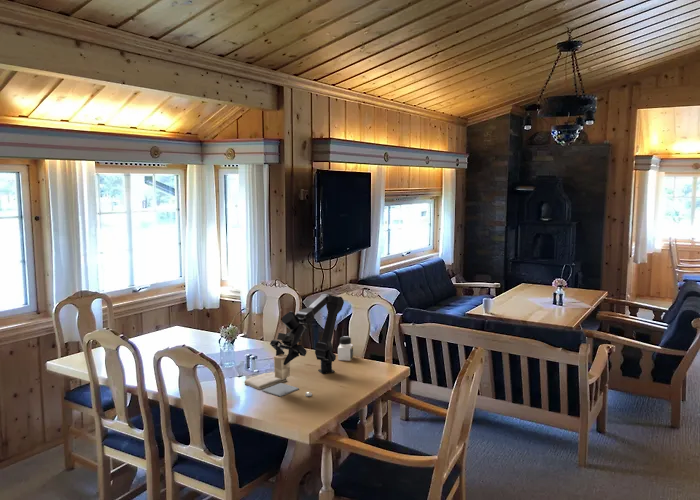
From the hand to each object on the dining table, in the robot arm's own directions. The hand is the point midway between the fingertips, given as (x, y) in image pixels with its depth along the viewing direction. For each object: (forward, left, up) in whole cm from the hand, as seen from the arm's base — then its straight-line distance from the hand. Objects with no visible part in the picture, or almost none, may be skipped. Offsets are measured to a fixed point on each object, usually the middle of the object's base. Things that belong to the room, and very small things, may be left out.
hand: (279, 363), depth 271 cm
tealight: (+10, +10, -13) cm, 20 cm away
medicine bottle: (-31, +48, -14) cm, 59 cm away
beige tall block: (-1, +1, -7) cm, 7 cm away
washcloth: (-16, -2, -14) cm, 21 cm away
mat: (-2, +1, -13) cm, 14 cm away
